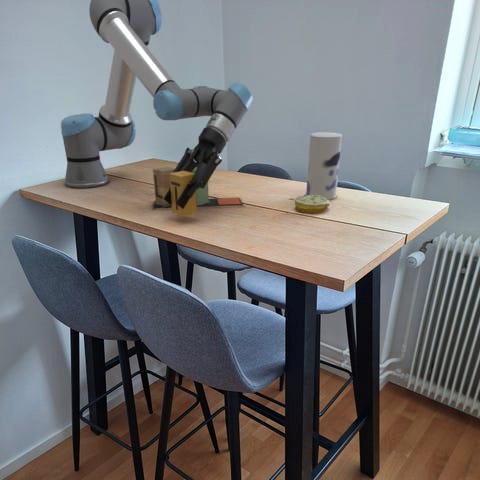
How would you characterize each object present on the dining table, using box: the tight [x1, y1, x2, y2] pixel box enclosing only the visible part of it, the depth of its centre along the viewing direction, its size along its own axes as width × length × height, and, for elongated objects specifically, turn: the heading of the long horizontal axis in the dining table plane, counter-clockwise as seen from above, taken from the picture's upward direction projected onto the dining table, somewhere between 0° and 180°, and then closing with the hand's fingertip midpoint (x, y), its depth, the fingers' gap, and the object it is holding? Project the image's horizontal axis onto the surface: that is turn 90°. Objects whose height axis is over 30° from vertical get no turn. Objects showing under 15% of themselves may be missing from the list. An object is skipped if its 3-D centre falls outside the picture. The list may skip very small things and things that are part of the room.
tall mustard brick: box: [170, 171, 197, 217], centre depth 132 cm, size 5×5×11 cm
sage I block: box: [191, 167, 210, 206], centre depth 148 cm, size 5×5×11 cm
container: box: [305, 131, 343, 201], centre depth 154 cm, size 10×10×20 cm
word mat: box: [153, 197, 243, 210], centre depth 151 cm, size 28×9×1 cm, turn 97°
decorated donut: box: [294, 194, 331, 214], centre depth 146 cm, size 10×11×4 cm
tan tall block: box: [152, 165, 175, 207], centre depth 147 cm, size 5×5×11 cm
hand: (173, 203), depth 131 cm, fingers closed on tall mustard brick, 5 cm apart
